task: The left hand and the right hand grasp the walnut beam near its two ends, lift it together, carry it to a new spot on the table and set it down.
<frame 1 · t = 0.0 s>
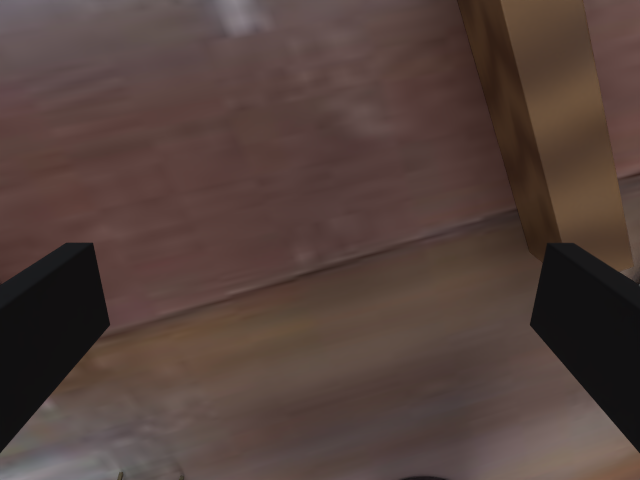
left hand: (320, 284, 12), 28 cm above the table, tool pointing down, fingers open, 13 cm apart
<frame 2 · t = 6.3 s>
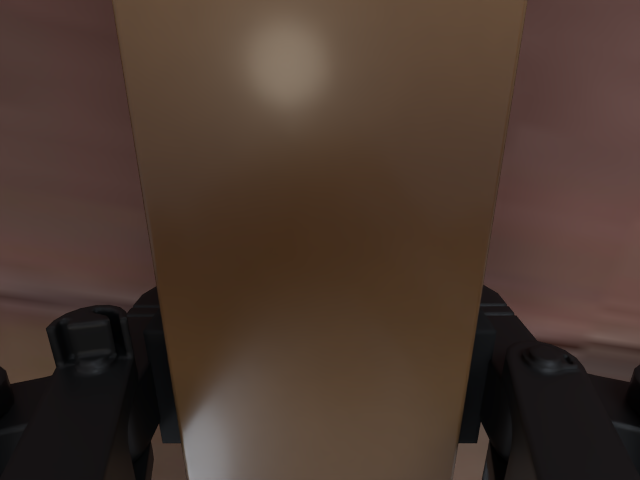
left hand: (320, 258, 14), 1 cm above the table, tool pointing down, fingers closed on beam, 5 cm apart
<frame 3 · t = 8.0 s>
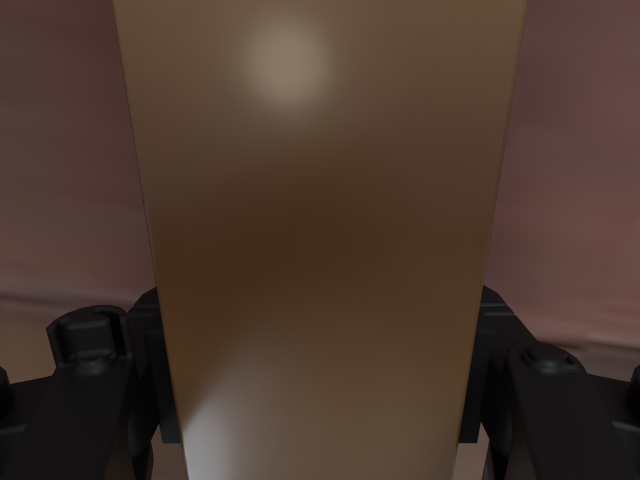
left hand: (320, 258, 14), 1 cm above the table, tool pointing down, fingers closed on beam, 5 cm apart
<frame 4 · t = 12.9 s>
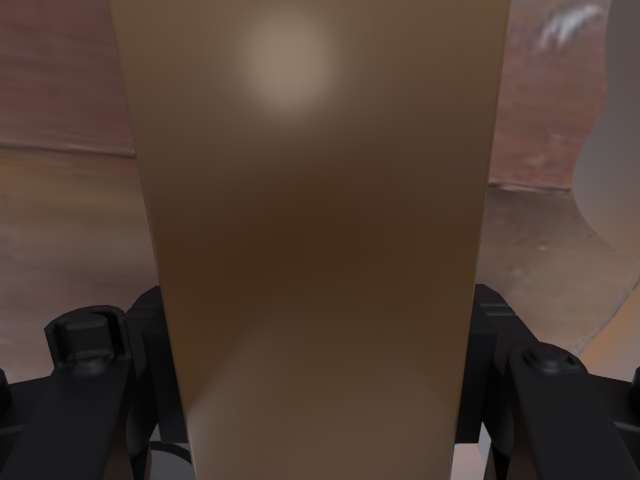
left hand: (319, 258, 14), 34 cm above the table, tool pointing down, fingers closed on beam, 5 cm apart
electronic device: (445, 293, 53), on the table
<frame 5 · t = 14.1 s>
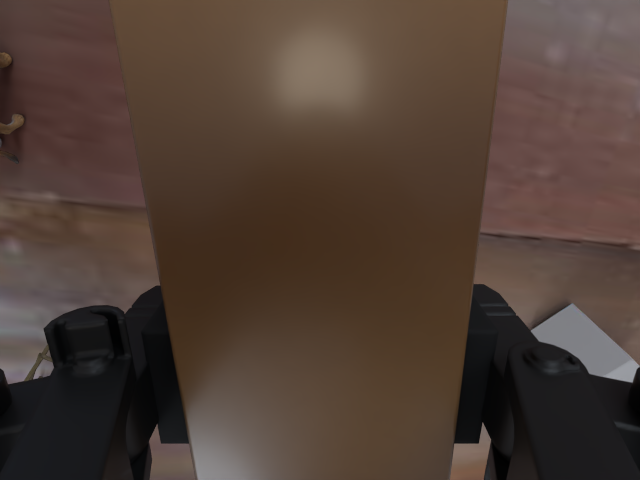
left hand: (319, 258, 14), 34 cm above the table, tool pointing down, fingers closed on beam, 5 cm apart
electronic device: (566, 342, 56), on the table
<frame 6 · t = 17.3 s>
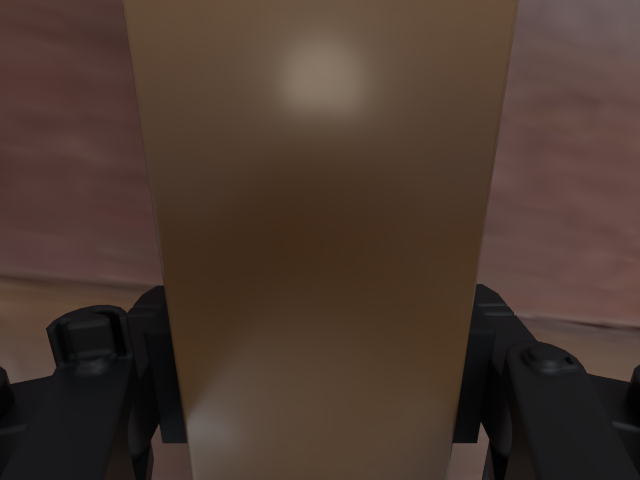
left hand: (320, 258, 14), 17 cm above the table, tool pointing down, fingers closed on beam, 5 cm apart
when the left hand's fingers open (2 cm above the table, at t = 20.0 s): beam drops 1 cm, on the table.
when the right hand's fingers open (4 cm above the table, at t = 20.2 s): beam stays where it is, on the table.
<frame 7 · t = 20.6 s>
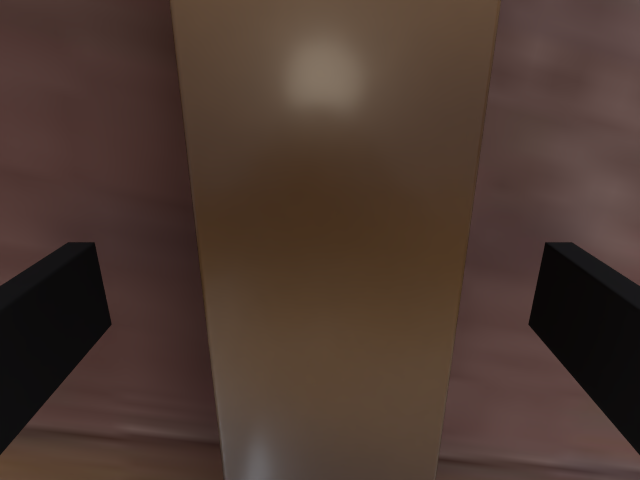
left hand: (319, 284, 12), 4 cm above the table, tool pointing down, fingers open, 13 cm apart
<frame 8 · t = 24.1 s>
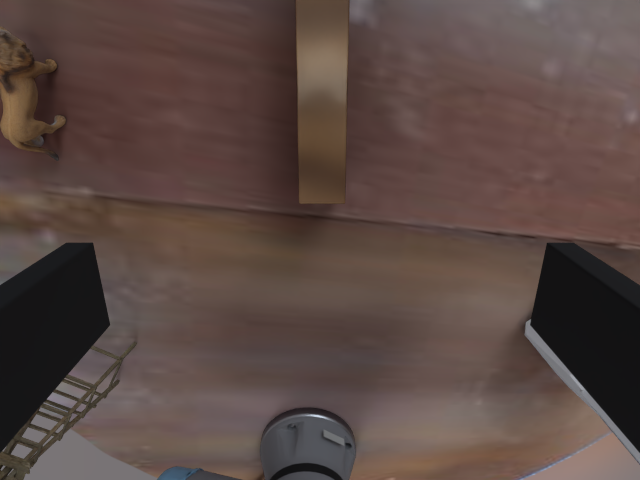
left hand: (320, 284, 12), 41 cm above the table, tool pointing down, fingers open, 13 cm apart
electronic device: (558, 334, 61), on the table
miniature windmill: (102, 351, 62), on the table
lion figurine: (41, 92, 49), on the table
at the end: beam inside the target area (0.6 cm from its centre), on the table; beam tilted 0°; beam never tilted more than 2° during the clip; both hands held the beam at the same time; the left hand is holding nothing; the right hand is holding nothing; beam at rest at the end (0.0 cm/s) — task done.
